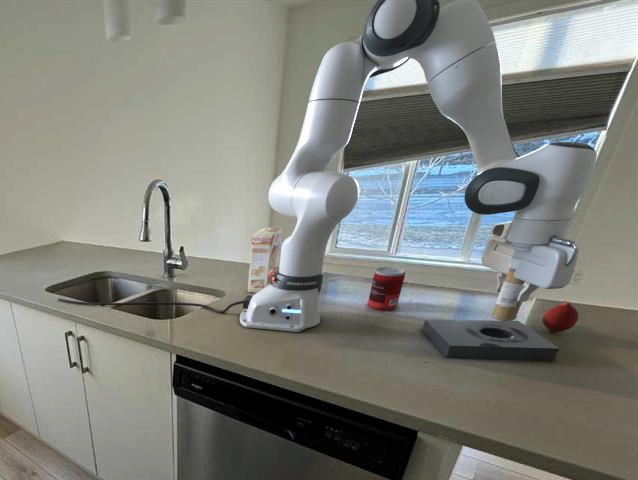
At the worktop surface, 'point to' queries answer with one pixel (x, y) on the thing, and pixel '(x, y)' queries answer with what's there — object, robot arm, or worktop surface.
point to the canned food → (386, 288)
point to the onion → (560, 317)
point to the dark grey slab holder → (488, 340)
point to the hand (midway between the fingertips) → (510, 296)
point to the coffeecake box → (263, 257)
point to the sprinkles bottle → (508, 295)
